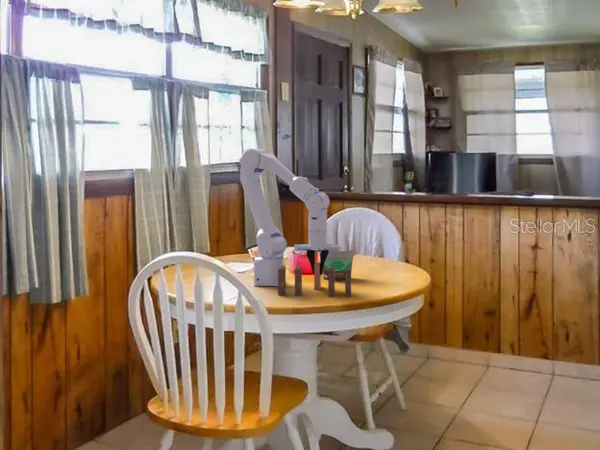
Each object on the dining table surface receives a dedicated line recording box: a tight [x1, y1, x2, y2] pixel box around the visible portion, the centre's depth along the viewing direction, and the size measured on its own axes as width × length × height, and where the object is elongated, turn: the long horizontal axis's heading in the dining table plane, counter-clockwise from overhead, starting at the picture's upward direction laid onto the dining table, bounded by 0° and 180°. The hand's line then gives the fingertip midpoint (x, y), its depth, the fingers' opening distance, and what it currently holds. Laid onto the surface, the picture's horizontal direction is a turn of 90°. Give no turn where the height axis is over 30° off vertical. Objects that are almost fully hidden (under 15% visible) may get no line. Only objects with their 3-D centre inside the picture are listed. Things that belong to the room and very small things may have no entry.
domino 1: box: [277, 266, 287, 297], centre depth 214 cm, size 2×5×8 cm, turn 174°
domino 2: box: [294, 266, 303, 297], centre depth 213 cm, size 2×5×8 cm, turn 174°
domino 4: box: [327, 267, 336, 298], centre depth 212 cm, size 2×5×8 cm, turn 174°
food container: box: [318, 248, 356, 282], centre depth 237 cm, size 12×6×10 cm, turn 101°
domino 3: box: [313, 261, 322, 291], centre depth 223 cm, size 2×5×8 cm, turn 174°
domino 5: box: [344, 268, 352, 298], centre depth 212 cm, size 2×5×8 cm, turn 174°
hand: (317, 274), depth 223 cm, fingers closed on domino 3, 2 cm apart
